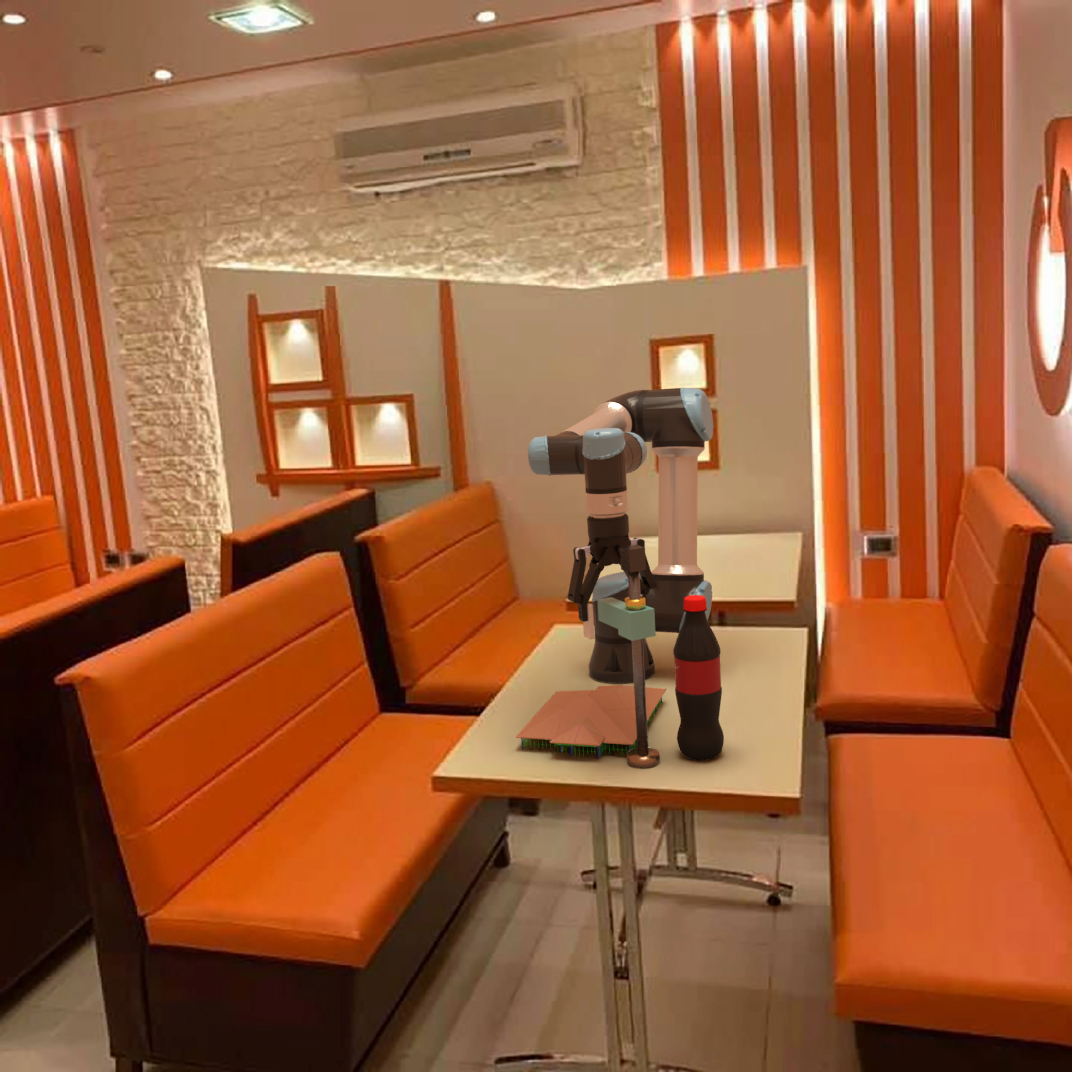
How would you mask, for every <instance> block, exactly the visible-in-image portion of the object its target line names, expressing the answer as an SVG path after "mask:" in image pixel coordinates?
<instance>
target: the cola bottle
mask: <svg viewBox="0 0 1072 1072" xmlns="http://www.w3.org/2000/svg"><path fill="white" fill-rule="evenodd" d="M706 610H707V606H706V599H705V597H704V596H700V595H691V596H687V597H685V598H684V611H685V612H686V614H685V619H684V623H683V625H682V627H681V630H680V632H679V633H677V634H678V635H677V637H676V640H675V643H674V646H673V650H672V651H673V656H674V674H675V676H674V678H675V681H674V682H675V688H674V691H675V692H674V693H675V694H674V695H675V698H676V704H677V708H678V713H679V717H680V723H679V727H678V729H677V733H676V742H677V745H678V746H677V747H678V750H679V751H680V753H681V755H682V756H684V757H685V758H687V759H689V760H693V761H700V762H701V761H709V760H712V759H715V758H717V757H718V756H720V754H721V753H722V750H723V747H724V741H725V737H724V736H725V735H724V732H723V729H722V726H721V723H720V720H719V719H720V710H721V701H722V693H723V687H722V679H721V678H722V675H721V674H722V673H721V656H720V655H721V647H720V644H719V642H718V640H717V637H716V634H715V633H714V631H713V629H712V627H711V625H710V623H709V622H708V620H707V618H706V614H705V611H706Z"/></svg>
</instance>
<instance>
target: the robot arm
mask: <svg viewBox="0 0 1072 1072" xmlns="http://www.w3.org/2000/svg"><path fill="white" fill-rule="evenodd" d="M713 418H714V417H713V412H712V407H711V403H710V402H709V398H708V396H707V394H706V393H705V392H704V390H703V389H701V388H695V387H676V388H675V387H673V388H661V389H638V390H633V391H628V392H625V393H623V394H620V395H618V396H614V397H612V398H610V399H608V400H606V401H604V402H602V403H601V404H599V405H598V406H596V407H595V408H594V410H593V411H592V413H591V414H590V415H589V416H587V417H585V418H583V419H582V420H580V421H578V422H577V423H575V424H573V425H572V426H570V427H568V428H566V429H565V430H563V431H561V432H559V433H558V434H556V435H546V434H545V435H544V436H536V437H534V438H532V439H531V441H530V443H529V445H528V450H527V460H528V464H529V467H530V468H529V469H531V472H532V473H534V474H535V475H541V476H543V475H545V476H549V477H551V476H566V475H568V476H569V475H584V486H585V488H584V489H585V503H586V505H585V508H586V513H587V514H588V515H589V516H587V518H586V522H587V535H588V543H587V546H584V547H578V546H577V547H576V546H575V547H574V548H573V551H572V552H573V560H574V562H573V565H572V571H571V577H570V581H569V587H568V588H569V589H568V593H567V600H568V601H569V602H573V603H575V604H577V608H578V609H577V611H578V619H579V621H581V622H582V626H583V627H582V628H583V637H584V638H587V639H588V640H594V645H593V648H592V649H593V650H592V652H591V653H592V654H591V656H590V659H589V665H588V671H589V672H588V673H589V677H590V678H591V679H593V680H595V681H597V682H601V683H602V682H603V683H607V684H628V683H634V677H633V658H632V641H631V640H629V639H627V638H625V637H622V636H620V635H619V634H618V629H617V628H615V627H612V626H610V625H608V624H606V623H603V622H601V621H599V616H598V600H599V599H604V598H610V597H612V598H615V599H618V600H620V601H623V602H625V598H627V597H629V582H628V572H627V571H624V570H622V571H620V572H615V573H610V574H607V575H604V576H602V577H601V576H600V575H601V573H602V572H603V571H604V569H605V567H609V566H611V565H613V564H614V565H619V566H620V567H621V558H620V547H625V546H631V545H638V546H642V547H645V548H646V544H645V543H646V542H645V541H646V540H644V539H642V538H638V537H634V538H632V539H631V538H630V537H629V533H630V523H629V515H628V514H627V513H626V512H627V511H629V509H628V508H629V507H628V506H629V505H628V504H629V503H628V486H627V485H628V483H627V474H631V473H633V472H635V471H636V470H638V469H639V468H640V467H641V466H642V465H643V464H644V463H645V461H646V458H647V454H648V453H647V452H648V449H647V446H646V443H651V450H652V452H654V454H656V456H657V457H658V505H657V506H658V509H657V510H658V514H657V515H658V516H657V517H658V518H657V519H658V520H657V521H658V523H657V524H658V528H657V529H658V531H657V533H658V538H657V541H658V542H657V543H658V544H657V545H658V548H657V550H658V551H657V552H658V553H657V555H658V557H657V562H658V563H657V565H656V566H655V568H654V569H653V570H652V569H651V567H650V564H649V560H648V558H647V557H648V556H647V555H646V553H645V558H646V570H642V571H639V574H640V594H641V596H642V597H645V603H646V606H649V607H651V608H654V614H655V633H657V632H658V633H675V634H676V633H677V634H679V632H680V630H681V627H682V625H683V623H684V619H685V614H686V612H685V611H684V598H685V597H687V596H691V595H700V596H704V597H705V599H706V606H707V610H706V611H705V614H706V618H707V621H708V619H709V618H710V617H709V616H710V614H711V613H710V612H711V611H712V610H711V608H712V603H713V602H712V601H713V591H712V590H713V589H712V588H713V587H712V584H711V582H710V581H708V580H705V574H704V571H703V570H702V568H700V566H698V480H699V479H698V478H699V477H698V473H699V472H698V468H699V467H698V465H699V464H698V463H699V461H698V459H699V456H701V454H702V453H703V452H704V451H705V447H706V446H705V442H708V441H711V440H712V438H713V436H714V420H713ZM589 554H590V556H591V558H590V562H589V563H588V566H589V568H588V570H587V572H586V568H587V567H586V566H587V559H588V558H589ZM585 572H586V574H585ZM591 596H592V598H591ZM590 599H591V602H592V603H590ZM648 644H649V643H648V642H647V638H644V639H643V653H644V673H645V680H647V679H649V678H651V677H653V676H654V675H655V673H656V663H655V660H654V658H653V654H652V652H651V649H650V647H649V645H648Z"/></svg>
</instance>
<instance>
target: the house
mask: <svg viewBox="0 0 1072 1072" xmlns="http://www.w3.org/2000/svg"><path fill="white" fill-rule="evenodd" d="M666 690H667V688H659V687H650V686H649V687H648V686H645V693H646V712H647V727H648V728H649V726H650V725H651V721H650V720H653V719H654V717H655V716H656V715H657V713H656V712H658V708H659V709H660V707H661V706H660V705H662V704H663V695H664V694H665V692H666ZM661 703H662V704H661ZM654 715H655V716H654ZM652 718H653V719H652ZM649 724H650V725H649ZM515 738H516V739H521V748H522V749H521V750H522V751H524V749H525V747H528V745H529V746H530V747H532V745H534V748H536V745H537V747H538V748H540V745H542V747H541V748H544V746H546V748H548V746H550V748H552V747H551V746H553V747H557V748H556V749H557V751H556V752H560V753H564V750H565V751H566V752H565V753H568V751H567V749H568V748H569V753H570V754H569V755H570V757H571V758H572V756H573V754H574V757H575V758H576V756H577V755H576V751H578V754H579V755H578V756H579V757H578V758H581V753H580V752H583V753H582V754H583V757H585V754H584V753H585V750H584V748H582V750H580V749H575V747H586V749H587V750H586V752H587V753H586V754H589V747H590V748H591V750H590V752H591V753H593V752H594V753H597V759H598V760H599V759H600V757H601V754H602V755H603V753H604V752H605V754H606V755H607V753H606V752H607V751H606V750H608V751H609V753H611V750H617V751H619V750H621V755H622V757H623V755H624V752H623V751H624V748H615V747H614V746H615V745H617V747H619V745H625V746H627V745H628V747H625V754H626V757H627V752H628V751H630V750H632V749H635V748H637V747H636V746H637V734H636V715H635V696H634V685H629V684H618V685H617V684H615V685H614V684H612V685H611V684H610V685H598V686H597V687H596V688H595V690H594V689H586V690H562V691H561V690H560V691H559V690H558V691H555V692H554V693H553V694H552V696H550V698H549V699H548V700H547V701H545V703H544V705H542V707H541V708H540V709H539V710H538V712H536V714H535V715H534V716H533V717H532V718H531V719H530V721H528V722H527V724H526V725H525V726H524V727H523V728H522V729H521V731H520V732H519V733H517V735H516V736H515ZM531 740H533V743H532V741H531ZM535 740H537V743H536V742H535ZM539 740H541V743H539ZM543 740H545V744H544V742H543ZM547 740H548V741H549V744H548V742H547ZM551 744H552V745H551ZM607 744H608V746H607ZM610 744H612V745H613V746H612V748H610V746H611V745H610ZM558 747H559V748H558ZM607 747H608V748H607ZM593 748H594V751H593ZM627 748H628V749H627ZM596 749H597V750H596ZM604 749H605V750H604ZM559 750H560V751H559Z"/></svg>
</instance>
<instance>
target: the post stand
mask: <svg viewBox="0 0 1072 1072" xmlns="http://www.w3.org/2000/svg"><path fill="white" fill-rule="evenodd" d="M645 554H646V546H645V547H642V546H638V545H631V546H625V547H620V558H621V566H620V570H621V571H623V570H624V571H627V572H628V582H629V597H627V598H625V608H627V609H630V610H631V611H636V610H641V609H642V608H645V607H646V603H645V597H642V596H641V594H640V574H639V571H642V570H646V558H645ZM624 571H623V572H624ZM632 658H633V677H634V682H633V686H634V696H635V715H636V734H637V743H636V744H637V747H636V748H635V749H633V748H631V749H630V751H629V750H627V756H626V763H627V765H628V766H629V767H631V768H635V769H650V768H654V767H656V766H659V764H660V763H661V756H660V755H661V754H660V751H659V750H657V749H655V748H653V747H649V737H648V736H649V734H648V728H647V712H646V693H645V687H646V679H645V673H644V653H643V639H639V640H634V641H632Z"/></svg>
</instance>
